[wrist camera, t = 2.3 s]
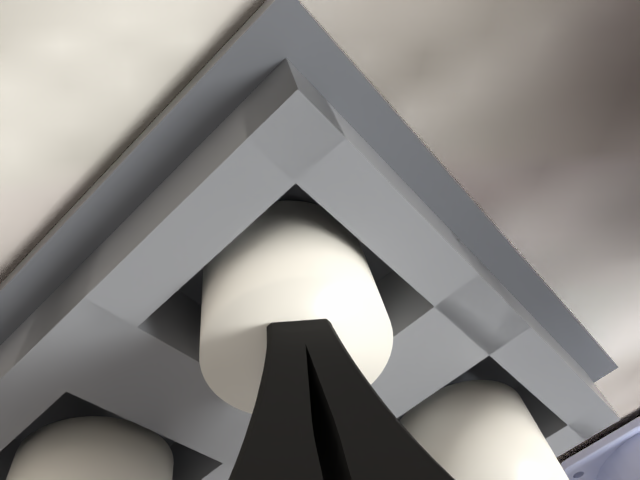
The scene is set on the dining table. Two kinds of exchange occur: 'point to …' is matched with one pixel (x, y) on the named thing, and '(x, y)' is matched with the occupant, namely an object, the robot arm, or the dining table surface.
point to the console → (234, 217)
